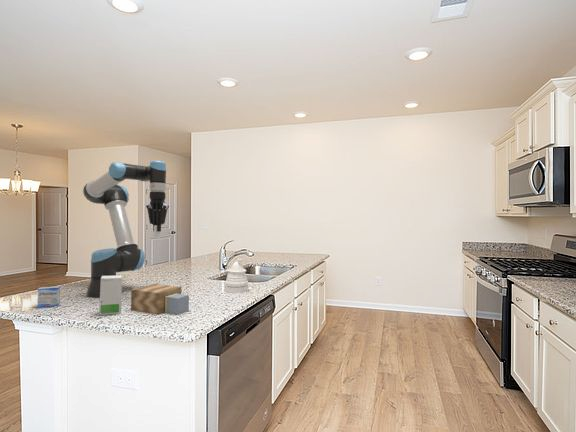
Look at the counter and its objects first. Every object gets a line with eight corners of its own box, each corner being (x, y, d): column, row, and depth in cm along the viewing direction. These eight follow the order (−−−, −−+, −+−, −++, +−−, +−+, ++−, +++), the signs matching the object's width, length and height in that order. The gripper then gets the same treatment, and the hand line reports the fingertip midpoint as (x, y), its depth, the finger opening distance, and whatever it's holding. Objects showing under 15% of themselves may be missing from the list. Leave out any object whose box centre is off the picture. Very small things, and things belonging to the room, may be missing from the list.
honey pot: (252, 290, 192) (253, 258, 192) (237, 294, 182) (238, 261, 182) (235, 287, 199) (236, 257, 199) (220, 291, 189) (220, 259, 188)
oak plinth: (130, 309, 150) (131, 289, 150) (154, 302, 163) (154, 283, 163) (158, 314, 144) (159, 293, 144) (181, 306, 157) (181, 287, 157)
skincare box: (98, 315, 141) (99, 278, 141) (100, 311, 147) (101, 275, 147) (121, 313, 144) (121, 277, 144) (122, 309, 150) (122, 274, 150)
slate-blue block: (165, 296, 147) (178, 298, 144) (176, 293, 153) (188, 295, 150) (165, 312, 147) (177, 314, 144) (176, 308, 153) (188, 310, 150)
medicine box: (37, 308, 150) (37, 288, 150) (39, 306, 154) (39, 286, 154) (58, 306, 153) (58, 287, 153) (60, 304, 157) (60, 285, 157)
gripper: (142, 191, 171) (141, 237, 171) (162, 190, 166) (161, 239, 166) (153, 192, 178) (152, 237, 178) (172, 192, 173) (172, 238, 173)
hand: (156, 238), depth 172 cm, fingers closed
